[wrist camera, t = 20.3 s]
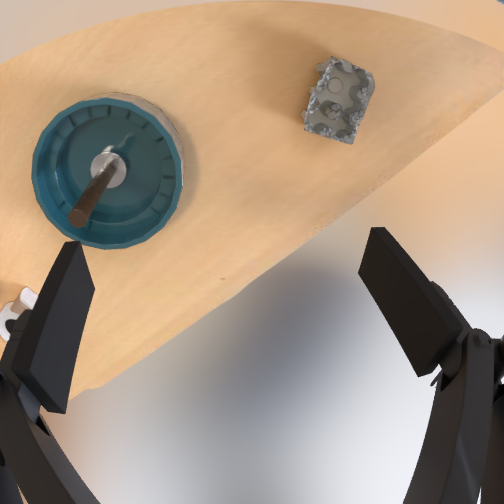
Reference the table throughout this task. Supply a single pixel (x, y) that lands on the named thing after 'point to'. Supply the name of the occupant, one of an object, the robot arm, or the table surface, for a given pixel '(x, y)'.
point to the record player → (15, 311)
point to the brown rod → (99, 184)
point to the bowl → (135, 183)
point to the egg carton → (338, 100)
